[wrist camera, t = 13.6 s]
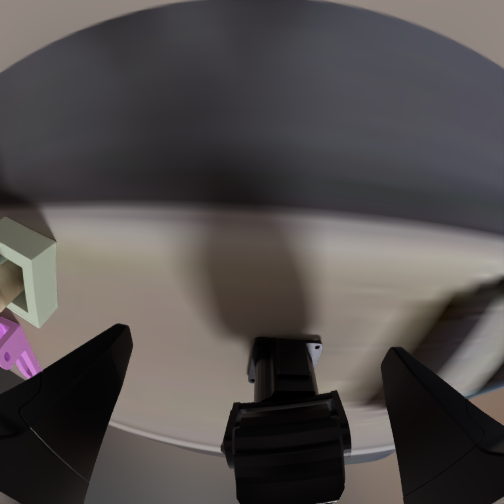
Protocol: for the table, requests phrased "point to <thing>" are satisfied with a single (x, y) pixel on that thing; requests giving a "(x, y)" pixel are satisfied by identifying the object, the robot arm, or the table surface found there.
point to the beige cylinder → (10, 283)
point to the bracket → (16, 349)
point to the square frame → (31, 270)
